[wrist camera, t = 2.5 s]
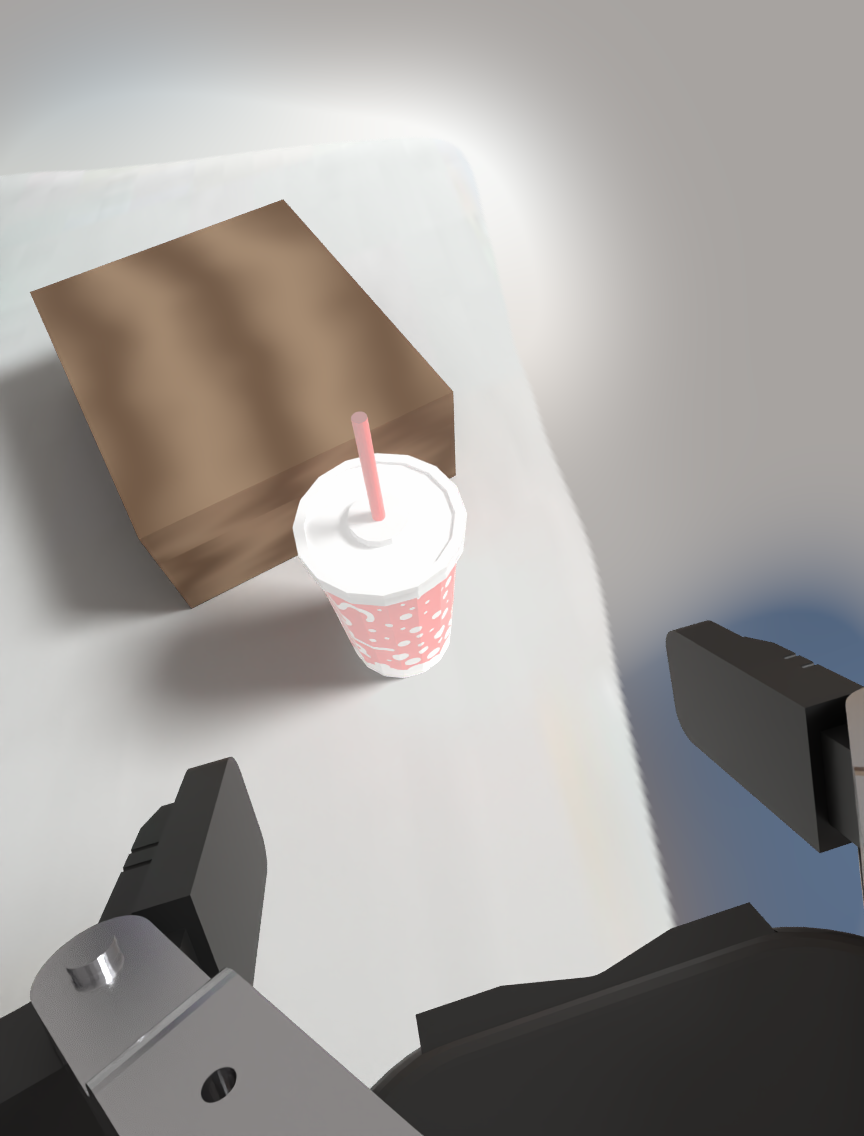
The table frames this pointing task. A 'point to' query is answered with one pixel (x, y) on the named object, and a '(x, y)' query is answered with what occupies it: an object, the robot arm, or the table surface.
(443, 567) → the beverage cup
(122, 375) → the walnut shelf stand
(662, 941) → the robot arm
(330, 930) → the table surface
